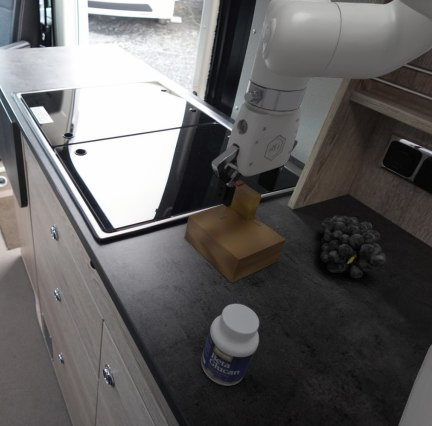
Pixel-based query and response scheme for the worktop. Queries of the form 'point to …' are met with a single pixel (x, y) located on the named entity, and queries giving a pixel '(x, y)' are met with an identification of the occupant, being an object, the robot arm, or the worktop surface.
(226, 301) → the worktop surface
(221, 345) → the pill bottle
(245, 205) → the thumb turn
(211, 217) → the brown flat block
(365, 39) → the robot arm
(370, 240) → the fruit
